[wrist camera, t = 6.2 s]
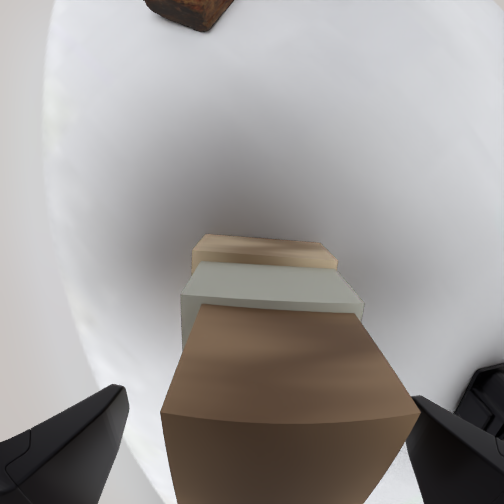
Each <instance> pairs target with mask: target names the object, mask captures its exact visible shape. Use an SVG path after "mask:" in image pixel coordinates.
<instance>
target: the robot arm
mask: <svg viewBox="0 0 504 504" xmlns="http://www.w3.org/2000/svg"><path fill="white" fill-rule="evenodd" d="M411 398H412V399H413V401H414V403H415V404H416V406H417V407H418V409H419V410H420V412H421V413H420V415H419V417H418V419H417V421H416V423H415V425H414V427H413V428H412V430H411V432H410V434H409V436H408V437H407V439H406V446H407V450H408V454H409V458H410V461H411V464H412V467H413V470H414V473H415V476H416V479H417V482H418V485H419V489H420V492H421V495H422V498H423V502H424V504H504V364H501V365H496V366H492V367H488V368H483V369H479V370H478V371H476V373H475V374H474V376H473V378H472V381H471V383H470V385H469V387H468V389H467V391H466V393H465V395H464V397H463V399H462V401H461V403H460V405H459V407H458V408H457V410H456V412H455V414H453V413H451V412H449V411H447V410H445V409H444V408H442V407H440V406H438V405H437V404H435V403H433V402H432V401H430V400H428V399H426V398H425V397H423V396H421V395H418V396H412V397H411ZM128 413H129V402H128V397H127V392H126V389H125V387H124V386H121V385H116V384H111V385H109V386H107V387H106V388H104V389H102V390H100V391H99V392H97V393H95V394H93V395H92V396H90V397H88V398H86V399H85V400H83V401H81V402H79V403H77V404H75V405H74V406H72V407H70V408H68V409H66V410H65V411H63V412H61V413H59V414H57V415H55V416H53V417H52V418H50V419H48V420H46V421H44V422H42V423H40V424H38V425H36V426H34V427H33V428H31V430H30V429H29V430H26V431H25V432H23V433H21V434H18V435H16V436H14V437H12V438H10V439H8V440H5V441H3V442H0V504H98V501H99V499H100V496H101V493H102V490H103V488H104V485H105V483H106V480H107V478H108V475H109V473H110V470H111V468H112V465H113V463H114V460H115V458H116V455H117V452H118V450H119V446H120V443H121V439H122V435H123V431H124V428H125V424H126V420H127V417H128Z"/></svg>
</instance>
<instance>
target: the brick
mask: <svg viewBox="0 0 504 504" xmlns="http://www.w3.org/2000/svg"><path fill="white" fill-rule="evenodd" d="M143 1H145V2H146V5H147V6H148V7H149V9H150V10H152V11H153V12H155V13H157V14H159V15H161V16H162V17H165V18H167V19H169V20H172V21H175V22H178V23H180V24H182V25H186V26H188V27H191V28H193V29H194V30H197V31H200V32H204V31H207V30H209V29H210V28H211V27H212V25H213V24H214V23H215V22H216V21H217V20H218V18H219V17H220V16H221V14H222V13H223V12H224V11H225V10H226V9H227V8H228V7H229V5H230V4H231V3H232V1H233V0H143Z"/></svg>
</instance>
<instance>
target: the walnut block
mask: <svg viewBox="0 0 504 504" xmlns="http://www.w3.org/2000/svg"><path fill="white" fill-rule="evenodd" d="M420 413H421V412H420V410H419V409H418V407H417V406H416V404H415V403H414V401H413V399H412V398H411V396H410V395H409V393H408V392H407V390H406V389H405V387H404V385H403V384H402V382H401V381H400V379H399V378H398V376H397V375H396V373H395V372H394V370H393V369H392V367H391V366H390V364H389V363H388V361H387V360H386V358H385V357H384V355H383V354H382V352H381V351H380V349H379V348H378V346H377V345H376V344H375V342H374V341H373V339H372V338H371V336H370V335H369V333H368V332H367V331H366V329H365V328H364V326H363V325H362V323H361V322H360V321H359V319H358V318H357V316H356V315H355V313H335V312H312V311H292V310H276V309H261V308H247V307H235V306H223V305H212V304H201V306H200V309H199V311H198V314H197V317H196V319H195V322H194V324H193V327H192V329H191V332H190V334H189V337H188V340H187V342H186V345H185V347H184V350H183V353H182V355H181V358H180V360H179V363H178V366H177V368H176V371H175V374H174V376H173V379H172V382H171V384H170V387H169V390H168V392H167V395H166V398H165V400H164V403H163V406H162V409H161V411H160V414H161V421H162V427H163V434H164V440H165V446H166V451H167V457H168V462H169V467H170V472H171V477H172V481H173V486H174V490H175V495H176V499H177V503H178V504H363V503H364V502H365V501H366V499H367V498H368V497H369V495H370V494H371V493H372V491H373V490H374V489H375V487H376V486H377V484H378V483H379V482H380V480H381V479H382V477H383V476H384V474H385V473H386V471H387V470H388V468H389V467H390V465H391V464H392V462H393V461H394V459H395V457H396V456H397V454H398V453H399V451H400V449H401V448H402V446H403V444H404V442H405V441H406V439H407V437H408V436H409V434H410V432H411V430H412V428H413V427H414V425H415V423H416V421H417V419H418V417H419V415H420Z"/></svg>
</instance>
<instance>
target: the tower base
mask: <svg viewBox="0 0 504 504" xmlns="http://www.w3.org/2000/svg"><path fill="white" fill-rule="evenodd" d="M201 261H210V262H226V263H242V264H258V265H275V266H293V267H311V268H330V269H336V270H337V265H338V260H337V259H336V258H335V257H334V256H333V255H332V254H331V253H330V252H329V251H328V250H327V249H326V248H325V247H324V246H323V245H322V244H321V243H316V242H304V241H291V240H279V239H266V238H253V237H240V236H226V235H212V234H205V235H204V236H203V237H202V239H201V240H200V241H199V242H198V243H197V245H196V246H195V247H194V248H193V249H192V272H191V276H192V275H193V273H194V271H195V270H196V268H197V266H198V265H199V263H200V262H201Z"/></svg>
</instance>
